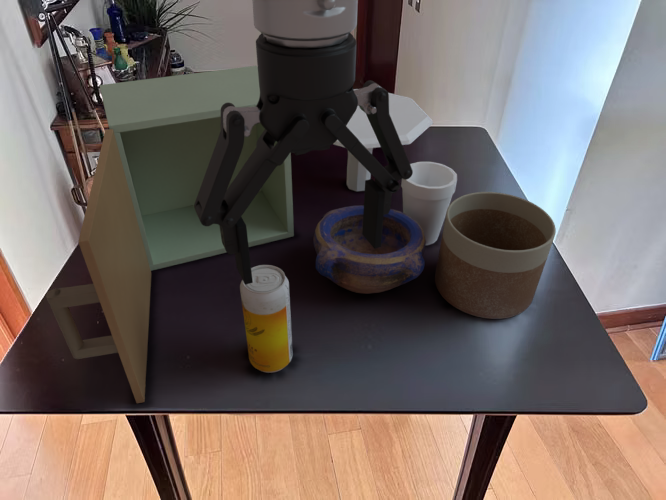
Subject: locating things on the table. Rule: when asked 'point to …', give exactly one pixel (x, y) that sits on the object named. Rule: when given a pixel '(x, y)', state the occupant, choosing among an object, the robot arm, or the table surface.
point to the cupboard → (189, 161)
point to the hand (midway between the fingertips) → (310, 257)
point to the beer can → (267, 318)
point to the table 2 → (406, 122)
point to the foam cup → (428, 196)
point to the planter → (493, 254)
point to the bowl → (368, 251)
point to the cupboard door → (111, 273)
